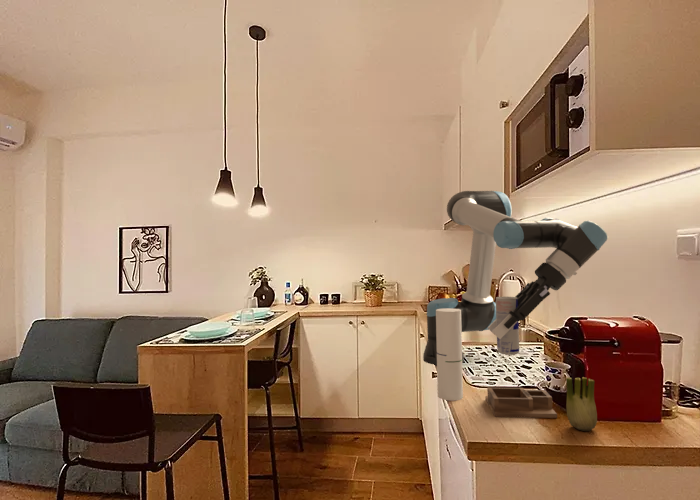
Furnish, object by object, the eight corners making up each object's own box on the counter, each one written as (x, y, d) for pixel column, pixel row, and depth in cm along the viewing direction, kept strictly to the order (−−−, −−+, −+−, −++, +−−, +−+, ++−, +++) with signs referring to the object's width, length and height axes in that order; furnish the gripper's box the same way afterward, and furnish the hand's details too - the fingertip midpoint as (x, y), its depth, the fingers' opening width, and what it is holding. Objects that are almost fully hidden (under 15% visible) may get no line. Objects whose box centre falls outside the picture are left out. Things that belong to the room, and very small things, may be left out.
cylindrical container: (444, 391, 136) (443, 307, 136) (467, 395, 132) (465, 309, 132) (433, 397, 131) (431, 310, 131) (456, 402, 126) (454, 312, 126)
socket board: (485, 399, 127) (485, 385, 127) (541, 400, 126) (540, 386, 126) (495, 416, 115) (494, 400, 115) (557, 417, 113) (556, 401, 113)
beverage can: (521, 355, 118) (519, 297, 118) (499, 355, 119) (497, 298, 119) (517, 351, 123) (515, 295, 124) (495, 351, 124) (494, 296, 124)
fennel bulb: (564, 427, 107) (563, 376, 107) (575, 422, 110) (574, 373, 110) (589, 435, 102) (588, 382, 102) (600, 429, 105) (599, 378, 105)
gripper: (580, 283, 110) (512, 350, 112) (554, 278, 128) (496, 337, 130) (556, 261, 111) (489, 329, 113) (534, 260, 129) (477, 318, 131)
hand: (493, 333), depth 121 cm, fingers closed on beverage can, 5 cm apart
